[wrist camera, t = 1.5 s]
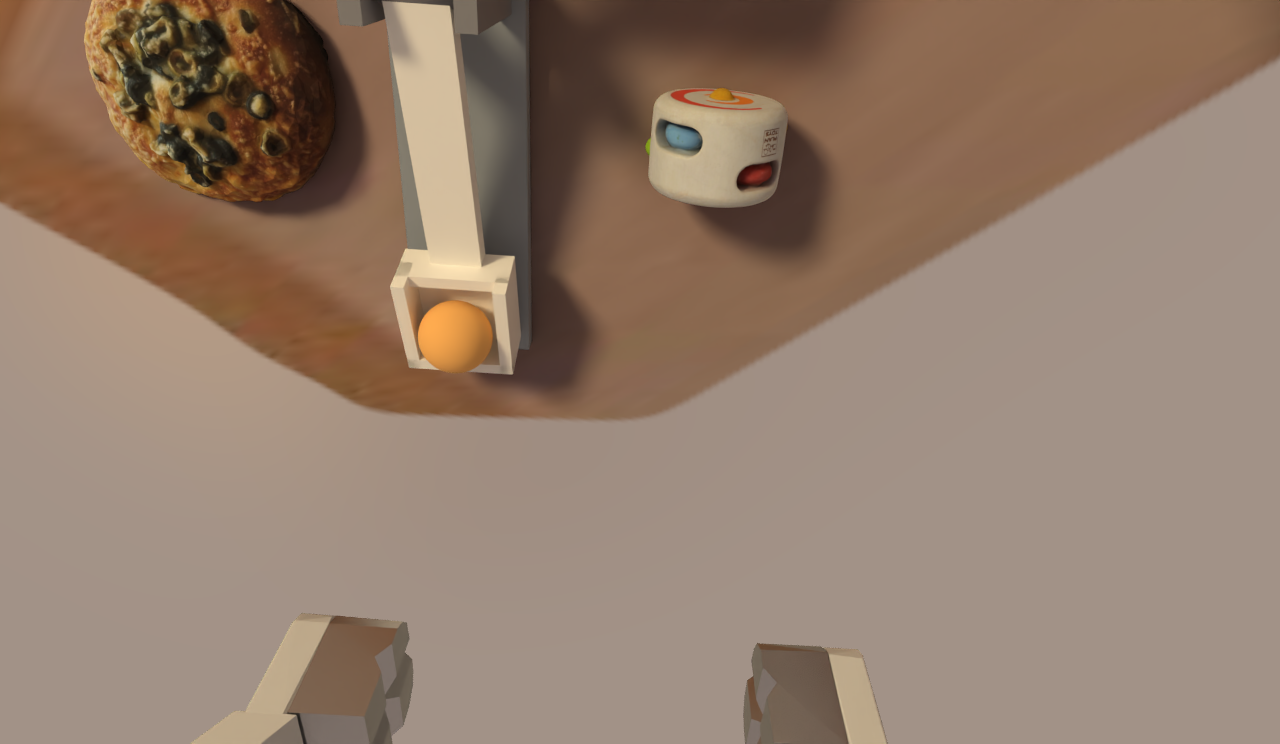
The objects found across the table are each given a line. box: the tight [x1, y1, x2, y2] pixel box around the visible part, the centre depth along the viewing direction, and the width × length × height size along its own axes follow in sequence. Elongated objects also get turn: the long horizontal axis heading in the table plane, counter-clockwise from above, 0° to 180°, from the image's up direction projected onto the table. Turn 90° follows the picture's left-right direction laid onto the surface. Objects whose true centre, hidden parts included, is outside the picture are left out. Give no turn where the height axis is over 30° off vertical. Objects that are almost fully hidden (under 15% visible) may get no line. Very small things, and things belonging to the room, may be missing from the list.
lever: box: [376, 0, 521, 375], centre depth 30 cm, size 26×13×3 cm, turn 176°
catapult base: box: [337, 0, 532, 350], centre depth 33 cm, size 20×6×8 cm, turn 176°
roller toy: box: [645, 88, 788, 208], centre depth 33 cm, size 4×6×6 cm
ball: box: [418, 300, 493, 373], centre depth 37 cm, size 4×4×4 cm
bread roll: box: [84, 0, 336, 202], centre depth 34 cm, size 11×11×5 cm
